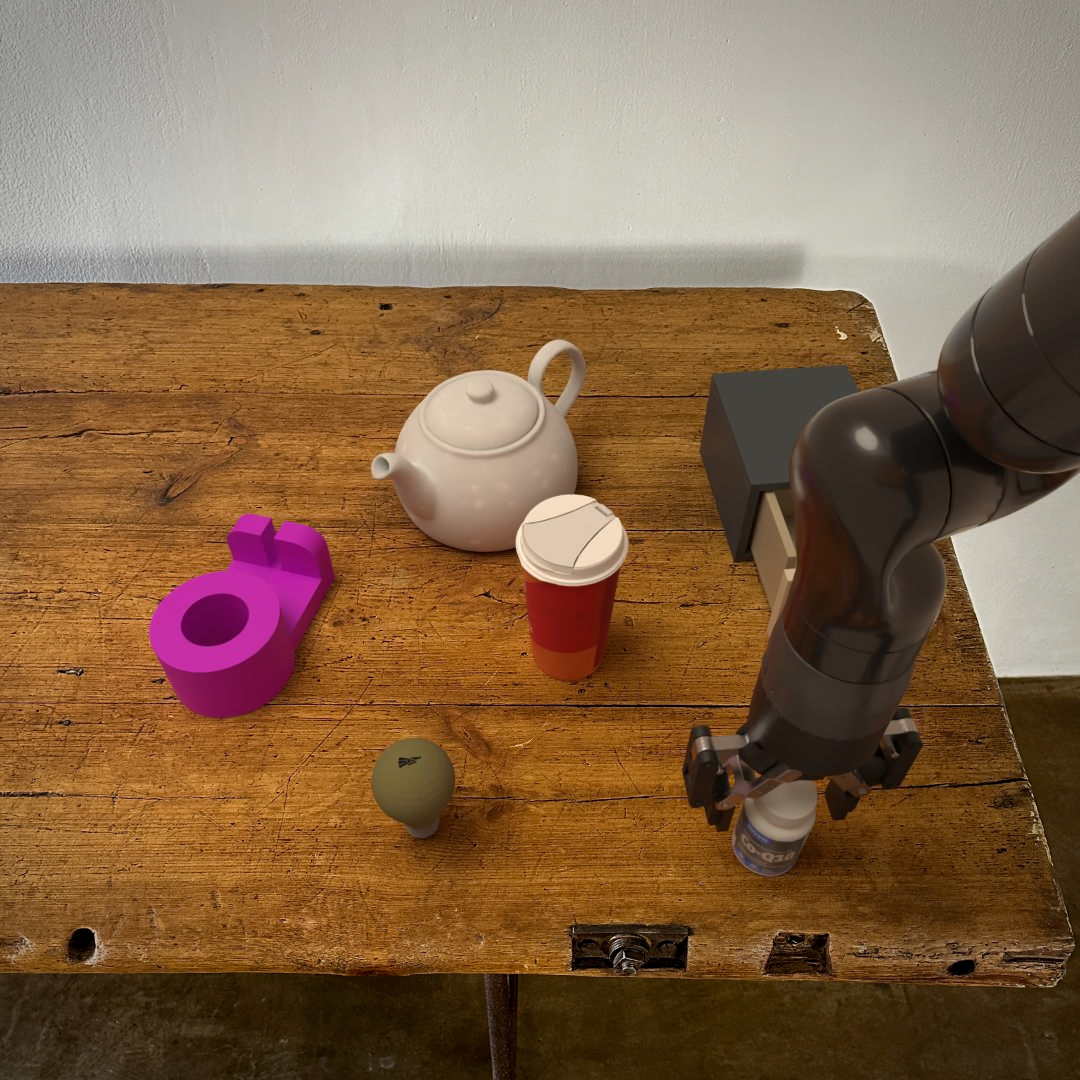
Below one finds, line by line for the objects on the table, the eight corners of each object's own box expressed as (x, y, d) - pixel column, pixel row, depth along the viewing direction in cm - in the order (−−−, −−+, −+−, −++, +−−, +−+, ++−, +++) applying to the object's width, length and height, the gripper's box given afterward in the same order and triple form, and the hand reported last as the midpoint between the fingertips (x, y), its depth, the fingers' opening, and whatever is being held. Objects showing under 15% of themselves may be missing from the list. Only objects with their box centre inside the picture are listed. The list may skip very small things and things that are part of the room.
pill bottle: (725, 866, 69) (743, 811, 62) (738, 807, 72) (757, 749, 65) (792, 887, 68) (818, 833, 61) (802, 827, 71) (828, 769, 64)
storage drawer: (926, 677, 78) (957, 617, 72) (785, 689, 77) (805, 629, 71) (854, 513, 90) (875, 450, 84) (731, 522, 90) (745, 460, 84)
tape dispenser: (261, 730, 76) (243, 685, 71) (148, 701, 78) (123, 655, 73) (343, 578, 86) (331, 530, 82) (242, 556, 88) (225, 508, 83)
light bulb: (409, 880, 68) (393, 814, 60) (370, 819, 71) (350, 750, 63) (476, 835, 70) (468, 767, 63) (435, 778, 73) (423, 707, 66)
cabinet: (871, 551, 88) (901, 473, 81) (733, 562, 88) (751, 484, 80) (823, 442, 98) (846, 364, 91) (699, 450, 97) (712, 373, 90)
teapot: (590, 565, 87) (596, 454, 77) (385, 566, 87) (365, 455, 77) (582, 427, 100) (587, 316, 90) (403, 428, 100) (388, 316, 90)
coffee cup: (572, 596, 85) (577, 473, 74) (638, 655, 81) (653, 534, 70) (497, 647, 81) (490, 525, 70) (562, 712, 77) (565, 593, 66)
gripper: (718, 748, 51) (683, 877, 63) (982, 724, 52) (897, 856, 64) (689, 633, 56) (662, 773, 68) (930, 613, 57) (861, 755, 69)
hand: (776, 813), depth 66 cm, fingers open, 7 cm apart
